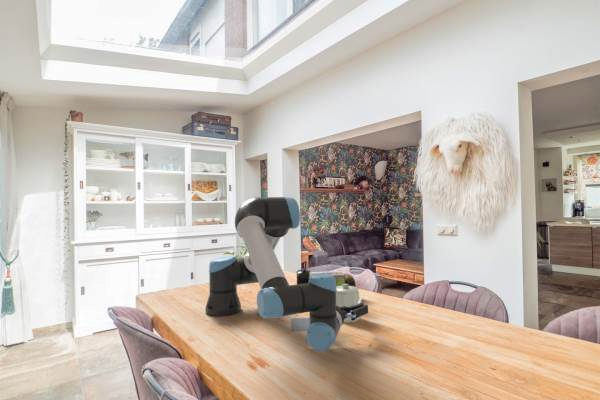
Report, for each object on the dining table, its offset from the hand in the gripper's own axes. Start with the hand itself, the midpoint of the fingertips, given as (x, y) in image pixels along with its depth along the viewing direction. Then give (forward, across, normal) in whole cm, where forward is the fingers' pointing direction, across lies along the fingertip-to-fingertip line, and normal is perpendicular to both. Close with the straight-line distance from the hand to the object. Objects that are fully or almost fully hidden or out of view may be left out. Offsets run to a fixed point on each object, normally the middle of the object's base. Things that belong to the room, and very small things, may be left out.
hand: (342, 300), depth 122 cm
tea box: (+25, -11, -10) cm, 29 cm away
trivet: (0, -12, -10) cm, 16 cm away
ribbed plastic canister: (+10, 0, -10) cm, 14 cm away
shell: (+40, -6, -10) cm, 41 cm away
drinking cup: (+32, -25, -9) cm, 42 cm away
